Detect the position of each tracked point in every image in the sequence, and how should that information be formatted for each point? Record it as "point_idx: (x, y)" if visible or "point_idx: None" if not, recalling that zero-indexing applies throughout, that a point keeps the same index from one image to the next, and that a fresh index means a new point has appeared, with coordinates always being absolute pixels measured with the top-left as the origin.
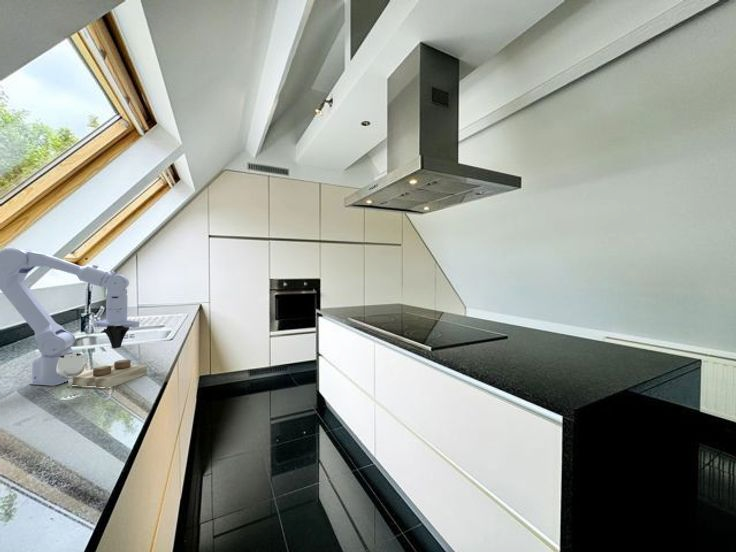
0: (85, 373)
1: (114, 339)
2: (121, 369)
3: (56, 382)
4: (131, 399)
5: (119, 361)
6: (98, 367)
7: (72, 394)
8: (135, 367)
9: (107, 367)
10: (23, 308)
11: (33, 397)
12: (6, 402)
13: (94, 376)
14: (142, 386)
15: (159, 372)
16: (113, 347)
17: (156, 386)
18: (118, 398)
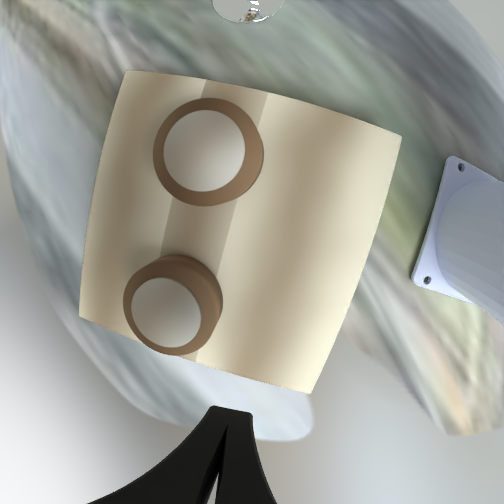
0: (344, 189)
1: (189, 467)
2: (160, 254)
3: (460, 188)
4: (36, 19)
5: (171, 296)
6: (221, 134)
7: None
8: (108, 286)
9: (166, 149)
10: None
11: (412, 25)
12: (455, 7)
13: None
14: (39, 123)
15: (69, 312)
16: (234, 414)
17: (6, 128)
18: (69, 13)
